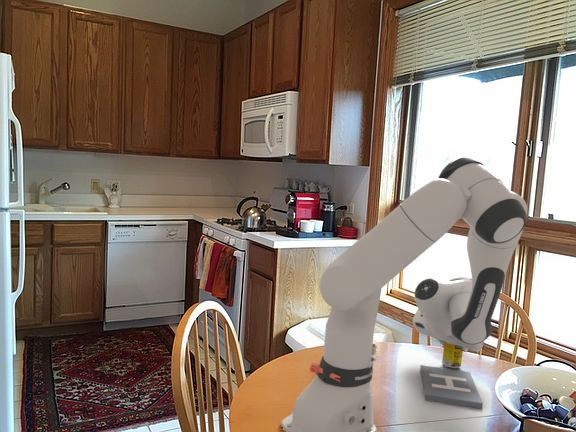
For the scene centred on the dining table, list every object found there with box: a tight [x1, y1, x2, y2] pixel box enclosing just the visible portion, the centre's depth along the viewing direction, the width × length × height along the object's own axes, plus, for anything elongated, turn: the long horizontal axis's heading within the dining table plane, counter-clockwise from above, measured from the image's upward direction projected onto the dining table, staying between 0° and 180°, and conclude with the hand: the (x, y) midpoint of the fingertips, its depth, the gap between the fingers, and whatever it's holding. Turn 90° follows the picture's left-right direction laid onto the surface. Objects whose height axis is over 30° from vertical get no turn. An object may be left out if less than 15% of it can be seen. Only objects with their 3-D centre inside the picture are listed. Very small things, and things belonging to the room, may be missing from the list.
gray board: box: [419, 364, 484, 410], centre depth 134 cm, size 20×14×2 cm
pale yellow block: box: [372, 339, 379, 356], centre depth 153 cm, size 10×9×6 cm
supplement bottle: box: [441, 341, 464, 369], centre depth 149 cm, size 6×6×10 cm
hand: (454, 346), depth 149 cm, fingers closed on supplement bottle, 6 cm apart
